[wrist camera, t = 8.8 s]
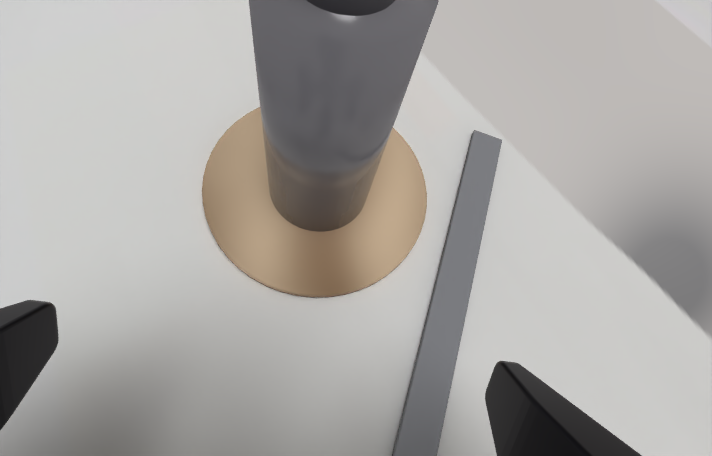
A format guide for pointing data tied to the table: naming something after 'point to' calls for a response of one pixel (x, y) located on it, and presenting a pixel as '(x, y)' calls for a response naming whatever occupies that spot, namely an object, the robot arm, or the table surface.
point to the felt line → (448, 304)
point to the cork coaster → (303, 247)
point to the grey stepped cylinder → (331, 97)
